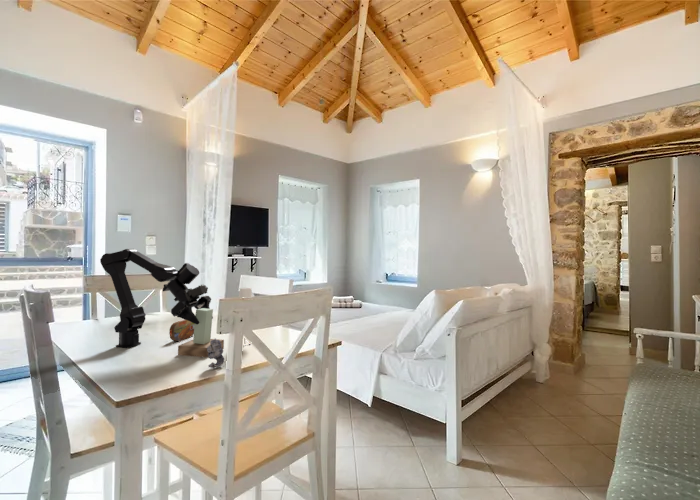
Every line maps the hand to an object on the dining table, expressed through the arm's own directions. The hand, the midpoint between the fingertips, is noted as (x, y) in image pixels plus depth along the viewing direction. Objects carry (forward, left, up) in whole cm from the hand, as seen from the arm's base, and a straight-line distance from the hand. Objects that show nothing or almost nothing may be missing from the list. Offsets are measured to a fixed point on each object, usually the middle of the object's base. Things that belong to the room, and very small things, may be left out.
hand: (205, 321), depth 135 cm
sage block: (-1, 0, -8) cm, 9 cm away
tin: (-20, +15, -12) cm, 28 cm away
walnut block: (-1, 0, -13) cm, 13 cm away
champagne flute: (+10, +14, -12) cm, 21 cm away
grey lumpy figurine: (+14, -15, -12) cm, 24 cm away
